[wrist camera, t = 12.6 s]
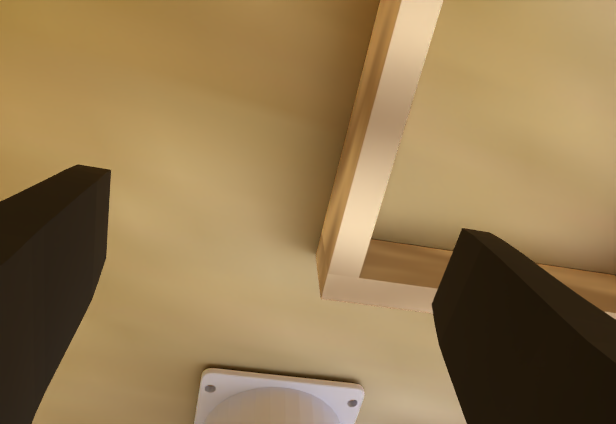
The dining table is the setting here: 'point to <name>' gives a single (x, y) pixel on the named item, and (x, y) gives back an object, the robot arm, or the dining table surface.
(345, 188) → the wooden tray
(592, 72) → the dining table surface
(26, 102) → the dining table surface
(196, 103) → the dining table surface
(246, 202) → the dining table surface
